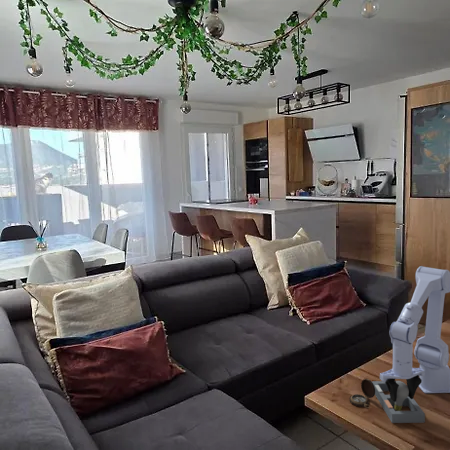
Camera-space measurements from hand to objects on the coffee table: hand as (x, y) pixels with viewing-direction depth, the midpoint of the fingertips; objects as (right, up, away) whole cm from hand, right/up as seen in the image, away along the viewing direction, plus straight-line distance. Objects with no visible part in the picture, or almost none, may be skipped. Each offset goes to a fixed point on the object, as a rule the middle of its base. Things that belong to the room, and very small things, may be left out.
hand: (401, 398), depth 124 cm
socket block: (+1, -4, +5) cm, 7 cm away
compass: (-10, -5, +7) cm, 13 cm away
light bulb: (0, -5, +2) cm, 5 cm away
